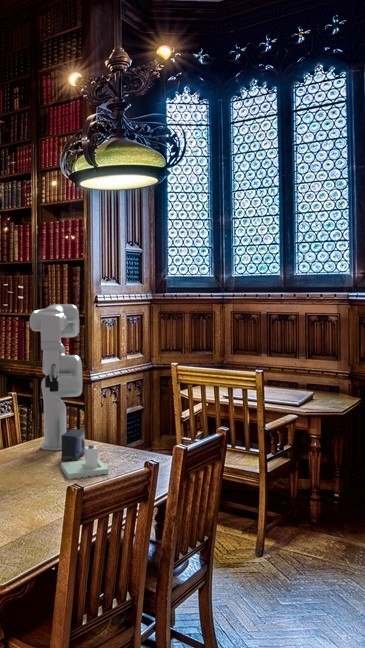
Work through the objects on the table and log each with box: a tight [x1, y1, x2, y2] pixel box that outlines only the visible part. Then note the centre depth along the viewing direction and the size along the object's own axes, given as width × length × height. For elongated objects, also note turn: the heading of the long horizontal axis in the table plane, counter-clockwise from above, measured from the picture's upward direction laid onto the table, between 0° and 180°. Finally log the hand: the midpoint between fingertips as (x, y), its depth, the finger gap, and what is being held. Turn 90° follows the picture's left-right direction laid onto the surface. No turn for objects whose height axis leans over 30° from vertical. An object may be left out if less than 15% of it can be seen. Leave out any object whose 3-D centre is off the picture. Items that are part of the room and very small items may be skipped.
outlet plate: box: [60, 457, 110, 480], centre depth 211 cm, size 14×15×2 cm
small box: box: [60, 428, 86, 462], centre depth 229 cm, size 11×6×10 cm, turn 168°
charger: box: [84, 444, 99, 469], centre depth 211 cm, size 4×4×10 cm
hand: (51, 389), depth 216 cm, fingers open, 9 cm apart
